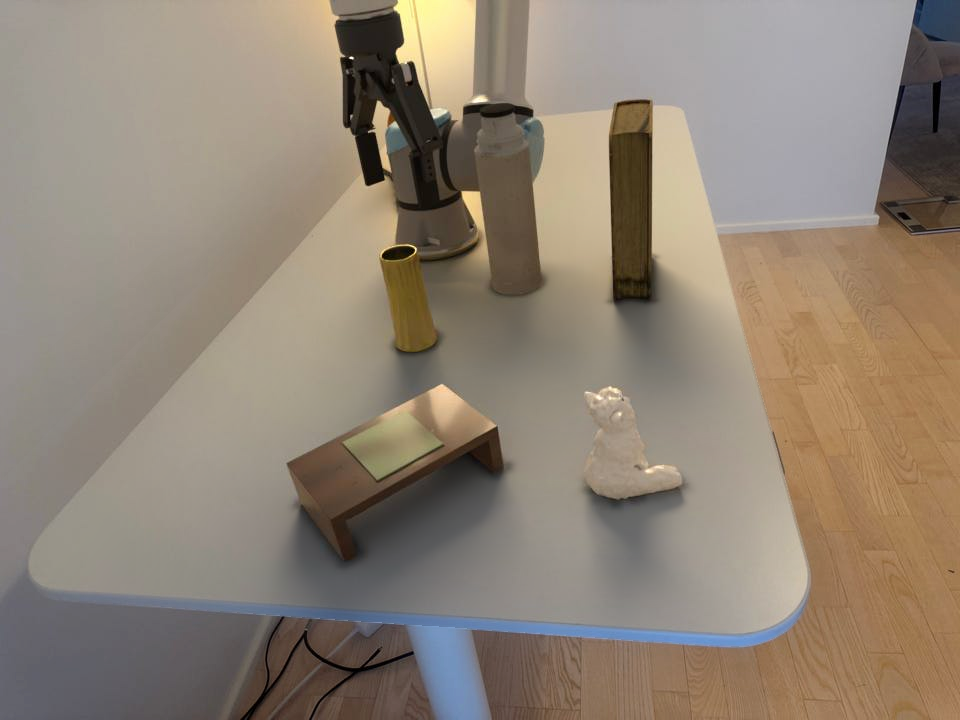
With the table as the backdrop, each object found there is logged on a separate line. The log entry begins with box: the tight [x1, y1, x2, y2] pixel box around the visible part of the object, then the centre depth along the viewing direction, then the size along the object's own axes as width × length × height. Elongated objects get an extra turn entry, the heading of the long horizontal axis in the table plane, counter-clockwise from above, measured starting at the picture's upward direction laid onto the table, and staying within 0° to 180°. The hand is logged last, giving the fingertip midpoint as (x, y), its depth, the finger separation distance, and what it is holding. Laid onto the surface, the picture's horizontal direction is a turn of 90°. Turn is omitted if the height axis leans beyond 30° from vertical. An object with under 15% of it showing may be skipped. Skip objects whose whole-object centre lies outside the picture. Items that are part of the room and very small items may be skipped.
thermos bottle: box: [474, 103, 542, 296], centre depth 108 cm, size 8×8×28 cm
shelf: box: [286, 383, 505, 563], centre depth 78 cm, size 11×20×6 cm, turn 126°
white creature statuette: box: [583, 385, 683, 501], centre depth 72 cm, size 10×9×12 cm
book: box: [608, 98, 654, 301], centre depth 106 cm, size 16×6×25 cm, turn 168°
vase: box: [378, 244, 438, 353], centre depth 101 cm, size 6×6×14 cm
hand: (401, 193), depth 92 cm, fingers open, 13 cm apart
